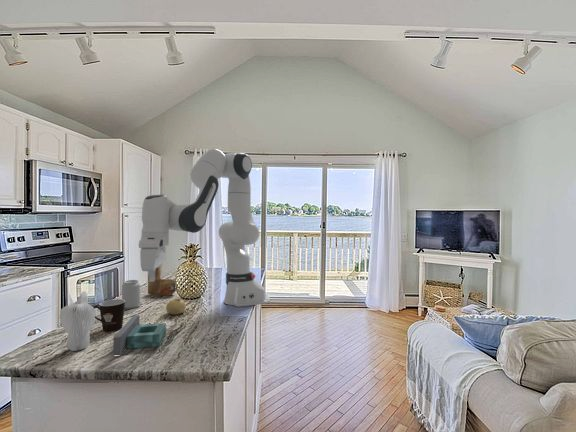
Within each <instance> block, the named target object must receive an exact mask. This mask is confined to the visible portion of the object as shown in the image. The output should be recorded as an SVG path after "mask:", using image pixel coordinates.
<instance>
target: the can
mask: <svg viewBox="0 0 576 432" xmlns="http://www.w3.org/2000/svg"><path fill="white" fill-rule="evenodd" d="M121 299H123V300H125V307H124V310H126V309H127V310H130V309H136V308H138V307H139V306H140V305H141V283H140V282H139V280H138V279H128V280H125V281H123V284H122V285H121Z"/></svg>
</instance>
